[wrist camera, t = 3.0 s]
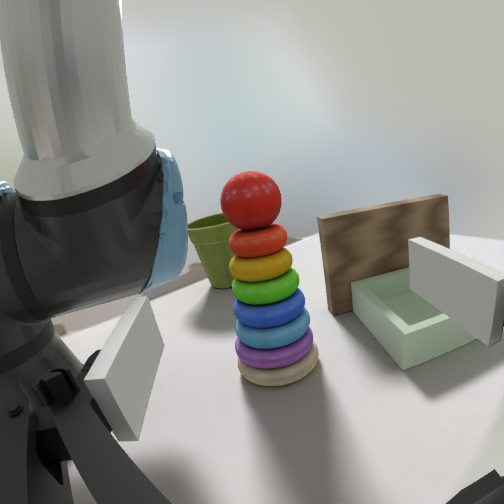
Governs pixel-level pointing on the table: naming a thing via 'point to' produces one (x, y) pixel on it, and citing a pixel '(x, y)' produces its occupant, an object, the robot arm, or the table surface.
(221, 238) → the plant pot
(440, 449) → the table surface
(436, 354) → the mint green square tray
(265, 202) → the stacking toy
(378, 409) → the table surface
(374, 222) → the backstop wall
